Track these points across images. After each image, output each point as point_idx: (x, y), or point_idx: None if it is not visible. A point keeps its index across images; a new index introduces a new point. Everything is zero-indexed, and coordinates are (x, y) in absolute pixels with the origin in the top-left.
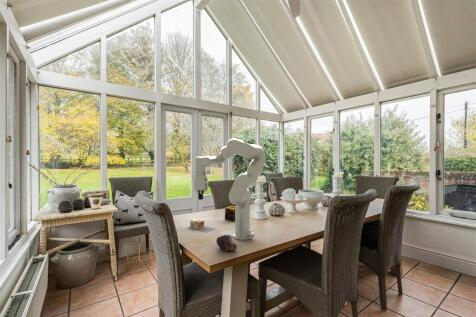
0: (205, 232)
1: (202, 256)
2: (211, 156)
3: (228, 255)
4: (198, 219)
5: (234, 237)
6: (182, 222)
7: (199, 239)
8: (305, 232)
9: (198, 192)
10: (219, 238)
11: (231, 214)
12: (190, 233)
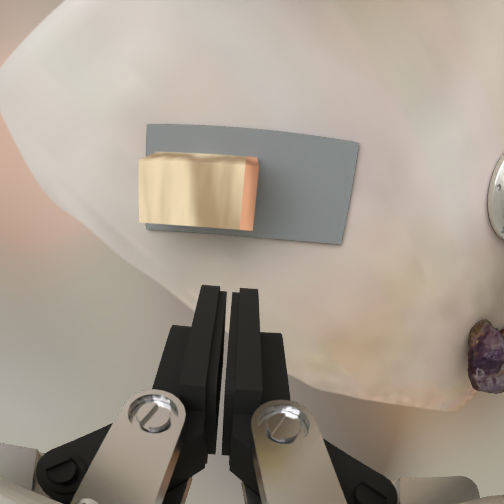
0: (335, 243)
1: (427, 405)
2: None
3: None
4: (183, 164)
5: (501, 237)
6: (28, 148)
7: (357, 330)
8: None
9: (180, 492)
10: (486, 391)
11: None
12: None
